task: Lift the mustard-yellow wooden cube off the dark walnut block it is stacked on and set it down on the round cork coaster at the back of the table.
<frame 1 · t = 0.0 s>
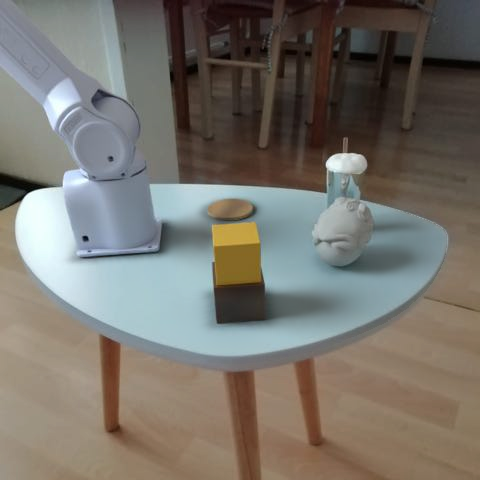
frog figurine: (339, 263, 54), on the table
walnut block: (239, 307, 48), on the table, touching top cube
cork coaster: (230, 210, 65), on the table
milkshake: (339, 229, 60), on the table
top cube: (237, 272, 45), point 4 cm above the table, touching walnut block
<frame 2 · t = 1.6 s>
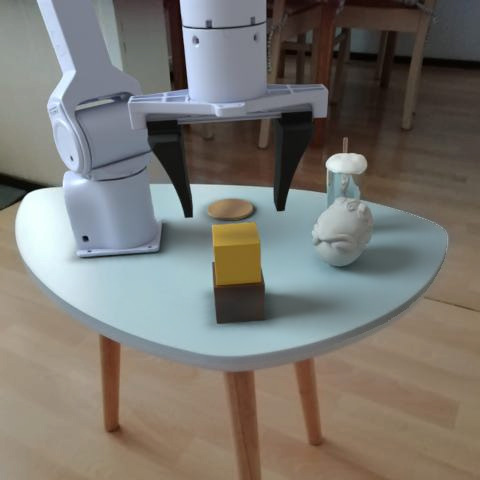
hand: (234, 209, 42), 10 cm above the table, tool pointing down, fingers open, 7 cm apart
nothing on the table moved.
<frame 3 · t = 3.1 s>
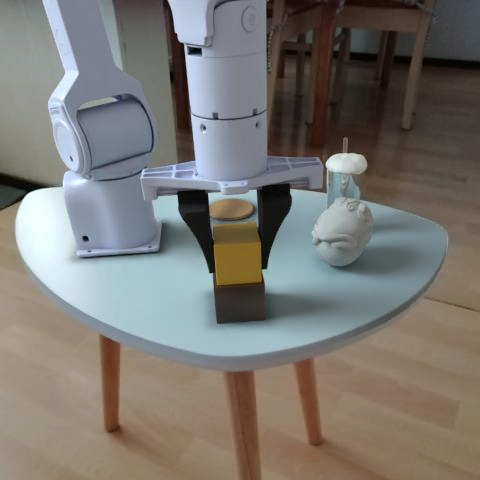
hand: (237, 265, 45), 5 cm above the table, tool pointing down, fingers closed on top cube, 4 cm apart
top cube: (237, 272, 45), point 4 cm above the table, touching gripper, walnut block
everything else where it was.
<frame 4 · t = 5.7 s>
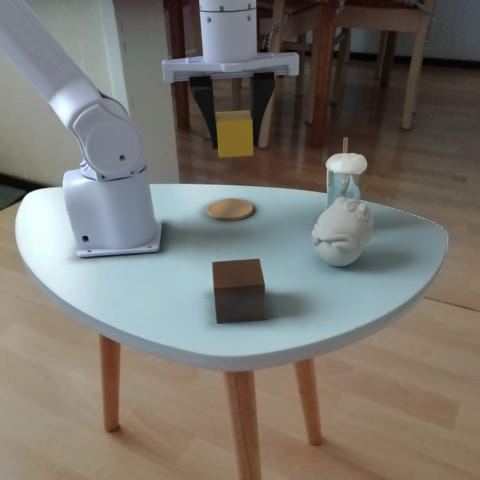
hand: (234, 145, 58), 9 cm above the table, tool pointing down, fingers closed on top cube, 4 cm apart
walnut block: (239, 307, 48), on the table
top cube: (235, 150, 58), point 9 cm above the table, touching gripper
everything else where it was.
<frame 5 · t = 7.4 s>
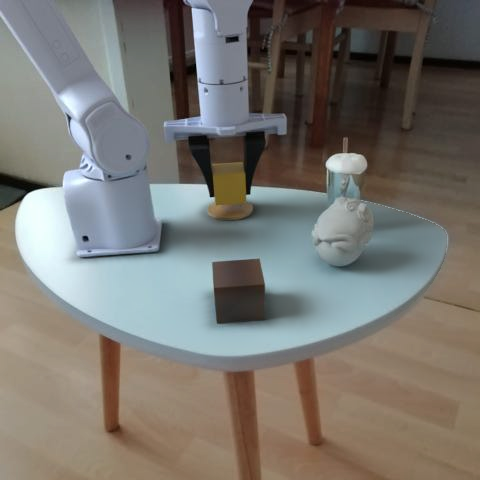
hand: (229, 193, 64), 2 cm above the table, tool pointing down, fingers closed on top cube, 4 cm apart
top cube: (230, 198, 64), point 2 cm above the table, touching gripper
everything else where it was.
when the fingers open (1 cm above the table, at t = 8.3 s): top cube stays where it is, resting on cork coaster.
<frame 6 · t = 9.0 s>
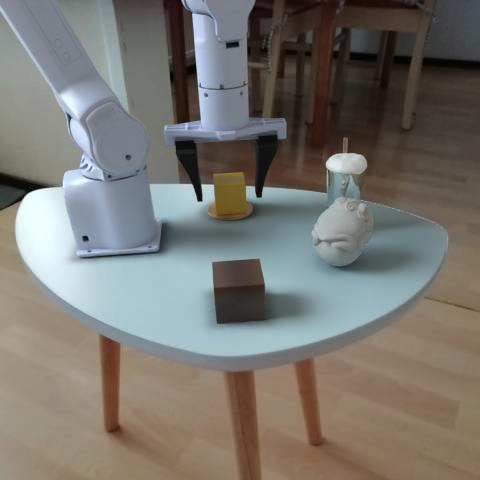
hand: (229, 196, 64), 2 cm above the table, tool pointing down, fingers open, 7 cm apart
top cube: (230, 207, 65), resting on cork coaster
everything else where it was.
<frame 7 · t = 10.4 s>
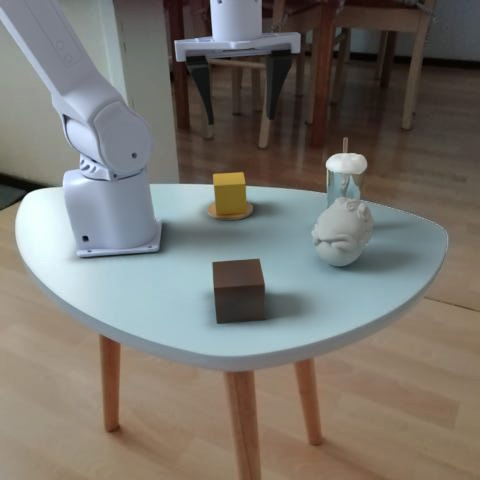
hand: (240, 120, 62), 10 cm above the table, tool pointing down, fingers open, 7 cm apart
nothing on the table moved.
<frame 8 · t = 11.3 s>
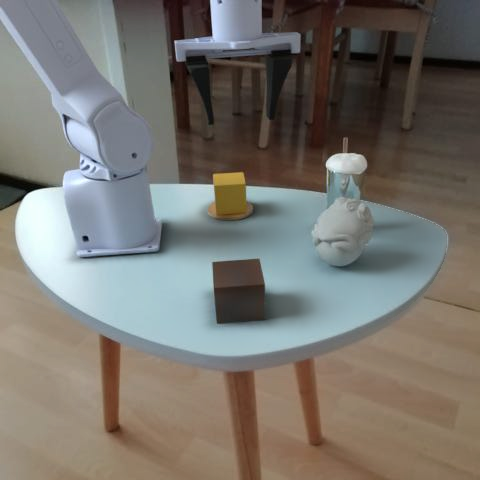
hand: (240, 120, 62), 10 cm above the table, tool pointing down, fingers open, 7 cm apart
nothing on the table moved.
at the end: top cube 0.1 cm off-centre on the cork coaster, point 0.4 cm above the cork coaster's base; top cube touching cork coaster; top cube tilted 0° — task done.
